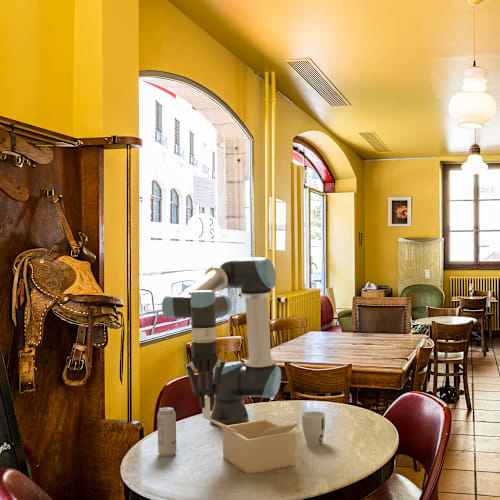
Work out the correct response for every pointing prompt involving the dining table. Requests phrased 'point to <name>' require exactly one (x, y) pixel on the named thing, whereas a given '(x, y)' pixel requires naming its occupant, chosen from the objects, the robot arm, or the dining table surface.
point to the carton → (257, 447)
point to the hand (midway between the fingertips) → (206, 417)
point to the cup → (313, 427)
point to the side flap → (223, 426)
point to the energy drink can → (166, 431)
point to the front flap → (278, 430)
